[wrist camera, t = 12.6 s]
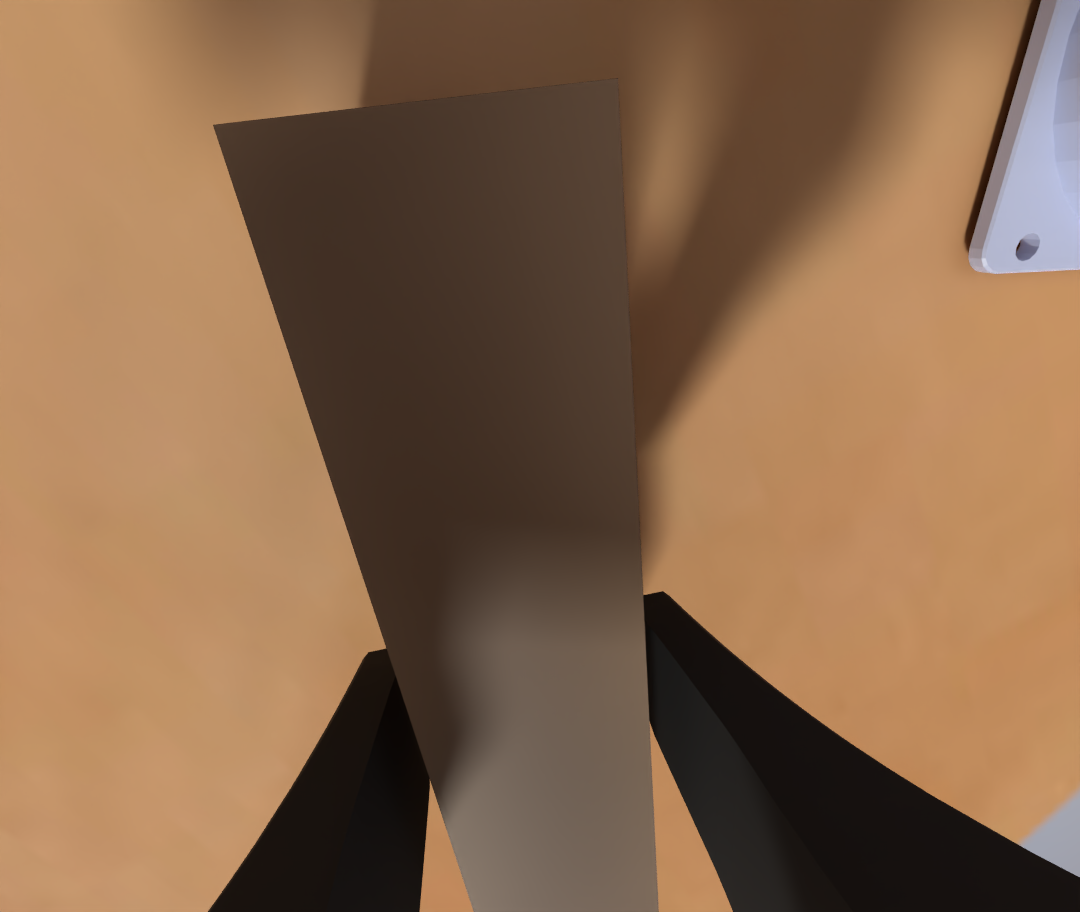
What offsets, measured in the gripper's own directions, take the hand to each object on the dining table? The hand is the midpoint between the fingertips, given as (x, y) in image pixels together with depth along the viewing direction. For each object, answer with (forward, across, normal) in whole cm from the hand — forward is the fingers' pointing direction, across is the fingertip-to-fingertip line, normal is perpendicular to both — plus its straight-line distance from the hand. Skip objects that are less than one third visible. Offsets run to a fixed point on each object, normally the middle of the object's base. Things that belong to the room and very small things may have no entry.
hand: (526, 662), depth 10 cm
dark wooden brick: (+4, 0, -1) cm, 4 cm away
